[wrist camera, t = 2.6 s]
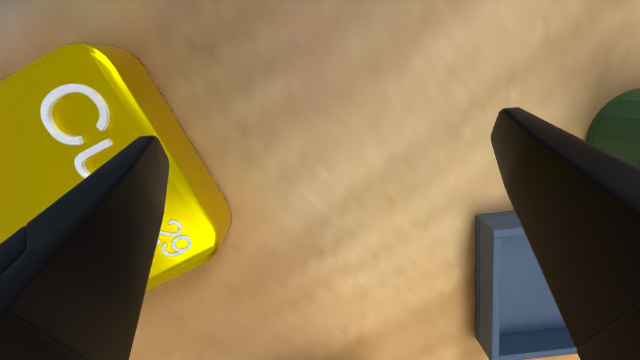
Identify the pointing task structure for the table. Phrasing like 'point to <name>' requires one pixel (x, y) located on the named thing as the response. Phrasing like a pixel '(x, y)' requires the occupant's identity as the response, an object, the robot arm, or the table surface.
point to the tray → (514, 295)
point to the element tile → (101, 147)
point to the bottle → (619, 128)
